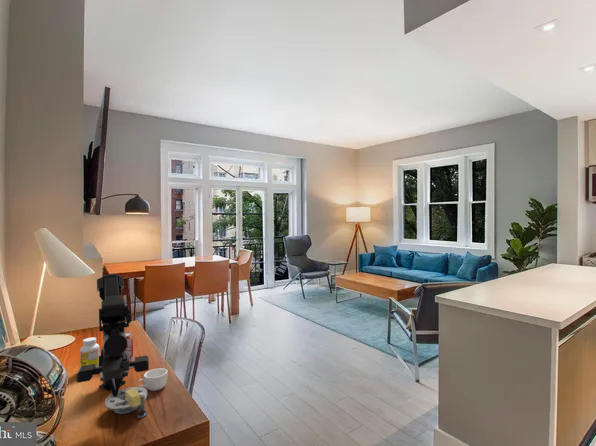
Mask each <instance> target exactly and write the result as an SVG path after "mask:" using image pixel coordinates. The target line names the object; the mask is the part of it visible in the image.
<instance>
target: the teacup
mask: <svg viewBox="0 0 596 446" xmlns="http://www.w3.org/2000/svg"><path fill="white" fill-rule="evenodd" d="M168 373H169V371H168V369H166V368H161V367H160V368H153V369H149V370H147V371H145V373H144V374H143V378H140V379H138V380H137V383H136V384H137V387H142V388H145V389H146V390H147V391H150V392H151V391H152V392H156V391H160V390H162V389H163V388H164V387H165V386H166V385H167V382H168ZM141 381H142V382H143V383H144V384H140V382H141Z"/></svg>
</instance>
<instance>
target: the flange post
mask: <svg viewBox="0 0 596 446" xmlns="http://www.w3.org/2000/svg"><path fill="white" fill-rule="evenodd" d="M137 410H139V405H138V406H135V407H133V408H129V409H125V410H113V411H114V414H115V415H117V416H125V415H131V414H132V413H135V412H136V411H137Z"/></svg>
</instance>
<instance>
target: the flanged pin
mask: <svg viewBox="0 0 596 446" xmlns="http://www.w3.org/2000/svg"><path fill="white" fill-rule="evenodd" d="M140 401H141V404H140V405H139V408H138V412H137V414H136V418H138V419H143V418H145V417H147V416H148V411H146V405H145V403H146V402H145V401H146V400H145V395H140Z"/></svg>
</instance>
